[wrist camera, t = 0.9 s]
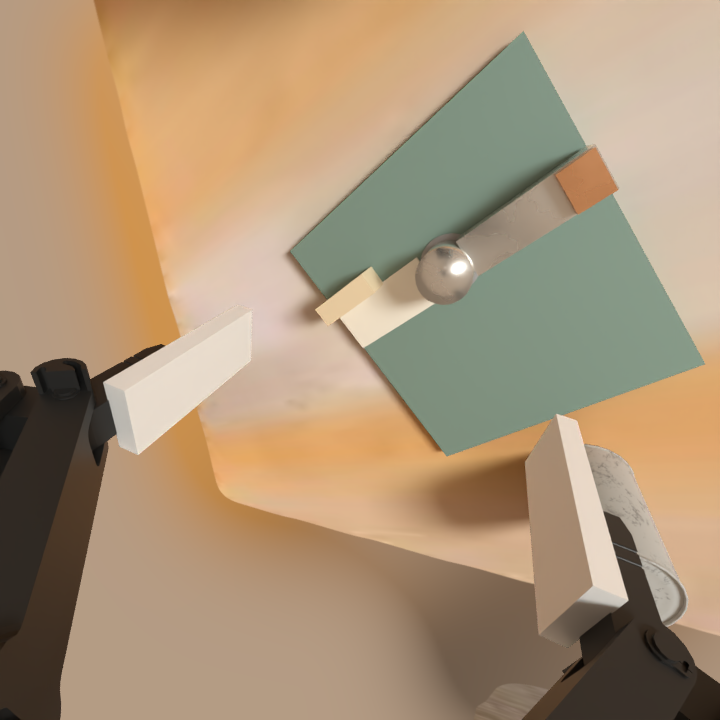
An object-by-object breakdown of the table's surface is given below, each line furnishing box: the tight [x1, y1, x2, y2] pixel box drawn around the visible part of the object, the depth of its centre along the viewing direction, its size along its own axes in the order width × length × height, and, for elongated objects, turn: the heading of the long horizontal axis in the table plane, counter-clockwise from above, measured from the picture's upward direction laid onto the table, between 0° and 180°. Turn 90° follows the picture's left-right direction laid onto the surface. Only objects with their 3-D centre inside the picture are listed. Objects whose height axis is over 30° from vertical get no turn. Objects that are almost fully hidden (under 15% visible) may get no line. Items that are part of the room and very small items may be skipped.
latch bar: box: [415, 144, 619, 305], centre depth 27 cm, size 14×4×4 cm, turn 128°
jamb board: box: [290, 31, 705, 456], centre depth 32 cm, size 28×24×4 cm
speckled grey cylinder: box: [584, 444, 688, 627], centre depth 33 cm, size 10×10×12 cm
